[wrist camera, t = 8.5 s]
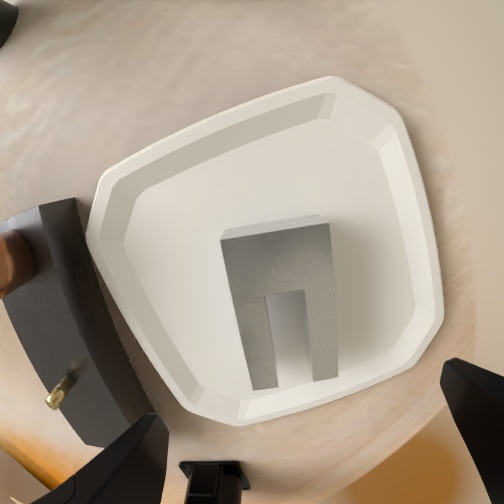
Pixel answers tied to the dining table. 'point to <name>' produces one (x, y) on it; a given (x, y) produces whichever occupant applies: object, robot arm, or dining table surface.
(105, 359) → the body
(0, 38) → the wine bottle
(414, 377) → the dining table surface
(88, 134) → the dining table surface
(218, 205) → the plate
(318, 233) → the lever cap
